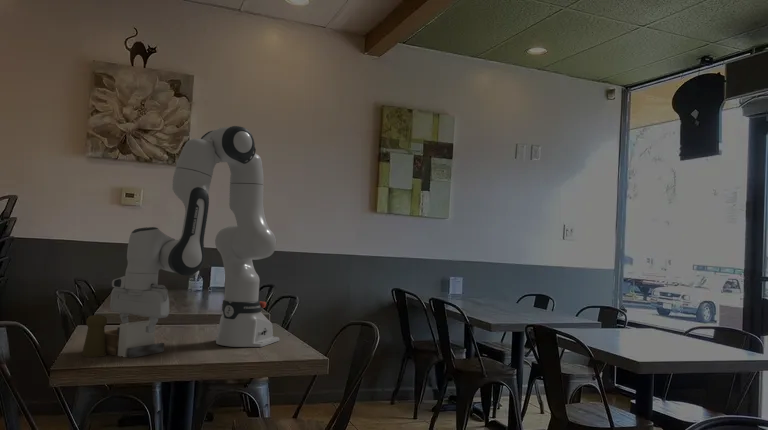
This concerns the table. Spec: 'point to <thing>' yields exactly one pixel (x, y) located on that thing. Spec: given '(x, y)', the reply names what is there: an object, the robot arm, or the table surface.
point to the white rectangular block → (134, 336)
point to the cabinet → (112, 348)
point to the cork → (95, 336)
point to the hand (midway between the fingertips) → (137, 330)
